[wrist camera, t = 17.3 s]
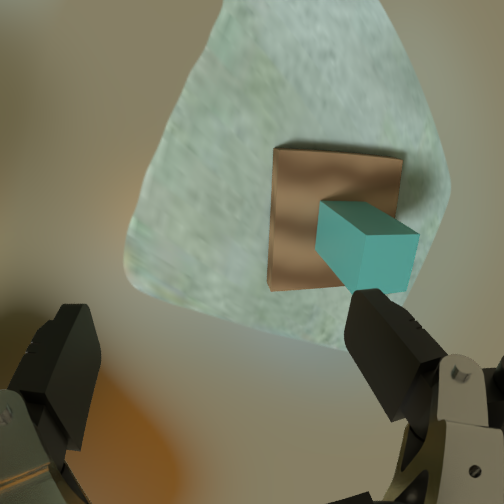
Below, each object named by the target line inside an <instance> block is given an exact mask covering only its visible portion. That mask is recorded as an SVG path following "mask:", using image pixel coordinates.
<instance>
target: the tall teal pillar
mask: <svg viewBox="0 0 504 504" xmlns="http://www.w3.org/2000/svg"><path fill="white" fill-rule="evenodd" d="M419 236H420V234H419V233H417V232H415V231H414V230H412V229H411V228H409V227H407V226H406V225H404V224H403V223H401V222H399V221H398V220H396V219H394V218H393V217H391V216H389V215H388V214H386V213H384V212H383V211H381V210H379V209H377V208H376V207H374V206H372V205H371V204H369V203H367V202H361V201H320V205H319V215H318V225H317V234H316V243H315V250H316V252H317V253H318V254H319V255H320V256H321V258H322V259H323V260H324V261H325V262H326V263H327V265H328V266H329V267H330V268H331V269H332V271H333V272H334V273H335V274H336V275H337V277H338V278H339V279H340V280H341V281H342V283H343V284H344V285H345V286H346V287H347V289H348V290H349V291H350V292H351V294H352V295H353V293H354V291H356V290H363V289H372V288H378V289H380V290H381V291H382V292H383V293H384V294H389V293H397V292H405V291H406V290H407V286H408V283H409V279H410V275H411V271H412V267H413V263H414V259H415V255H416V250H417V246H418V241H419Z"/></svg>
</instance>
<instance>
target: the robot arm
mask: <svg viewBox="0 0 504 504" xmlns="http://www.w3.org/2000/svg"><path fill="white" fill-rule="evenodd" d="M344 341H345V345H346V348H347V350H348V351H349V353H350V355H351V356H352V358H353V359H354V361H355V363H356V364H357V366H358V368H359V369H360V371H361V372H362V374H363V376H364V378H365V379H366V381H367V382H368V384H369V386H370V387H371V389H372V391H373V392H374V394H375V396H376V397H377V399H378V401H379V403H380V404H381V406H382V407H383V409H384V411H385V413H386V414H387V416H388V418H389V419H390V421H391V422H394V421H397V420H400V419H403V418H406V419H407V421H408V424H407V425H406V427H405V430H404V435H403V440H402V444H401V449H400V453H399V458H398V462H397V466H396V470H395V474H394V477H393V480H392V482H391V484H390V486H389V488H388V490H387V492H386V493H385V495H384V498H383V500H382V501H373V500H372V498H371V496H370V494H369V492H365V493H362V494H359V495H355V496H352V497H349V498H346V499H342V500H339V501H335V502H331V503H328V504H504V356H503V357H502V359H501V361H500V363H499V364H498V366H497V368H484V369H481V367H480V366H479V365H478V364H477V363H476V362H475V361H474V360H472V359H471V358H469V357H466V356H463V355H458V354H451V355H448V354H447V353H446V352H445V351H444V350H443V349H442V348H441V347H440V345H439V344H438V343H437V342H436V341H435V340H434V339H433V338H432V337H431V336H430V334H429V333H428V332H427V331H426V330H425V329H422V326H421V325H420V324H419V323H418V322H417V321H415V319H414V318H413V316H412V315H411V314H410V313H409V312H408V311H407V310H406V309H404V308H403V307H401V306H399V305H398V304H396V303H394V302H393V301H392V302H391V301H390V299H389V298H388V297H387V296H386V295H385V294H384V293H383V292H382V291H381V290H380V289H378V288H372V289H363V290H356V291H354V293H353V295H352V298H351V303H350V307H349V312H348V316H347V321H346V325H345V330H344ZM100 365H101V348H100V344H99V341H98V337H97V334H96V330H95V327H94V323H93V319H92V316H91V312H90V309H89V307H88V305H87V304H63V305H62V306H61V307H60V309H59V311H58V312H57V314H56V316H55V318H54V320H49V321H47V322H46V323H45V324H44V325H43V326H42V327H41V328H39V329H38V330H37V332H36V334H35V335H34V337H33V339H32V341H31V344H30V345H29V346H28V348H27V350H26V354H25V355H24V356H23V357H22V359H21V362H20V363H19V365H18V367H17V369H16V371H15V373H14V375H13V377H12V379H11V381H10V384H9V386H8V388H7V390H0V504H92V503H91V502H90V500H89V498H88V497H87V496H86V494H85V492H84V491H83V489H82V488H81V486H80V484H79V483H78V481H77V479H76V478H75V476H74V474H73V473H72V471H71V469H70V468H69V466H68V464H67V462H66V461H65V460H64V459H65V454H66V449H67V450H74V451H81V446H82V441H83V436H84V431H85V426H86V421H87V417H88V413H89V408H90V404H91V400H92V396H93V392H94V388H95V384H96V380H97V376H98V372H99V369H100Z"/></svg>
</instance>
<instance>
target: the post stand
mask: <svg viewBox="0 0 504 504" xmlns="http://www.w3.org/2000/svg"><path fill="white" fill-rule="evenodd" d="M402 164H403V160H401V159H398V158H394V157H388V156H380V155H371V154H361V153H350V152H338V151H325V150H309V149H289V148H274V149H273V172H272V193H271V213H270V233H269V251H268V269H267V284H268V286H269V288H270V291H271V292H273V291H288V290H301V289H314V288H326V287H338V286H345V285H344V284H343V283H342V281H341V280H340V279H339V278H338V277H337V275H336V274H335V273H334V272H333V271H332V269H331V268H330V267H329V266H328V265H327V263H326V262H325V261H324V260H323V259H322V258H321V256H320V255H319V254H318V253H317V252H316V250H315V243H316V234H317V225H318V215H319V205H320V201H361V202H367V203H369V204H371V205H372V206H374V207H376V208H377V209H379V210H381V211H383V212H384V213H386V214H388V215H389V216H391V217H393V218H394V219H395V214H396V208H397V201H398V195H399V188H400V180H401V172H402Z"/></svg>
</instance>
